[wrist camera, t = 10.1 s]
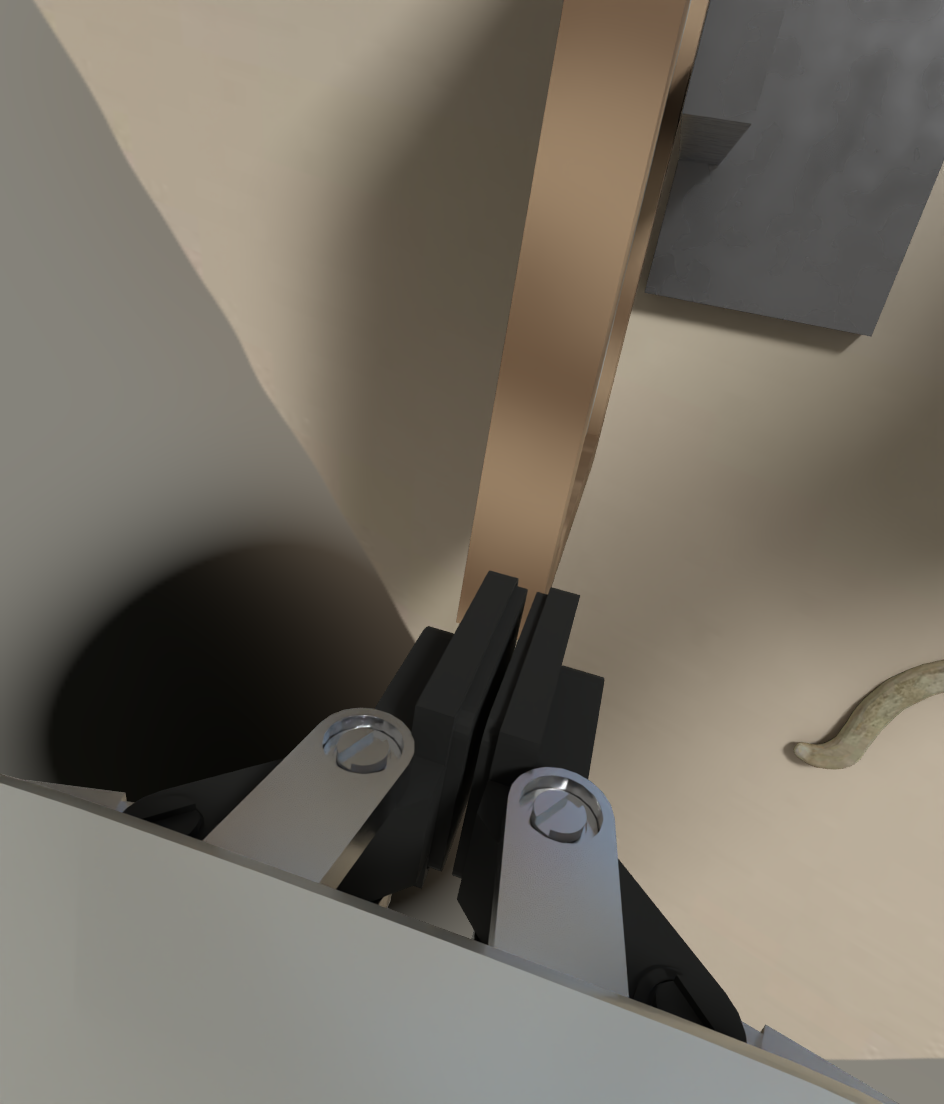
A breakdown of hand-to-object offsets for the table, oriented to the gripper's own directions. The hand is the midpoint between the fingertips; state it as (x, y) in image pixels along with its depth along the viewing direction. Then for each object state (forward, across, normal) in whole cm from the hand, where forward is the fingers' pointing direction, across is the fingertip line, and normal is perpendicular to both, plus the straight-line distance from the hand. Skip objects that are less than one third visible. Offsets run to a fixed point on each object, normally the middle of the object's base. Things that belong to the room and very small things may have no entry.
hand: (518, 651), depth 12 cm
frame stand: (+33, -6, -11) cm, 36 cm away
